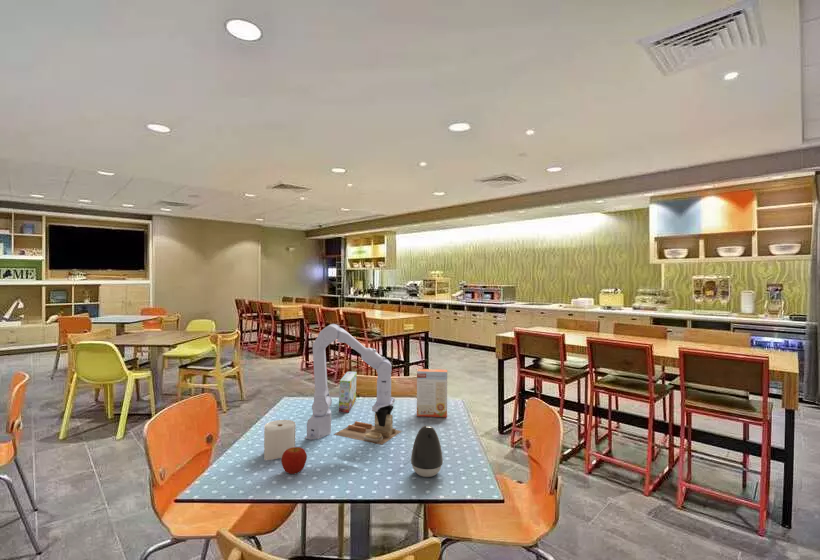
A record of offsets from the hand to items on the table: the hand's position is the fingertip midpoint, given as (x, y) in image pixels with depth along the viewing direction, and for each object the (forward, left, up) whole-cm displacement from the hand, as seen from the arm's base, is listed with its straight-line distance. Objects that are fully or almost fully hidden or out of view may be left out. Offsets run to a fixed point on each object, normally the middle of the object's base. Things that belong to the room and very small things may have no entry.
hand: (383, 425), depth 165 cm
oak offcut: (-7, 0, -2) cm, 8 cm away
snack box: (+27, +35, -5) cm, 45 cm away
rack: (-2, +5, -4) cm, 7 cm away
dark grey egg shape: (-21, -29, -5) cm, 36 cm away
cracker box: (+34, -7, -5) cm, 34 cm away
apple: (-40, +9, -5) cm, 42 cm away
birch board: (0, 0, -3) cm, 3 cm away
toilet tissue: (-32, +24, -5) cm, 40 cm away
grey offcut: (-7, 0, -3) cm, 8 cm away
